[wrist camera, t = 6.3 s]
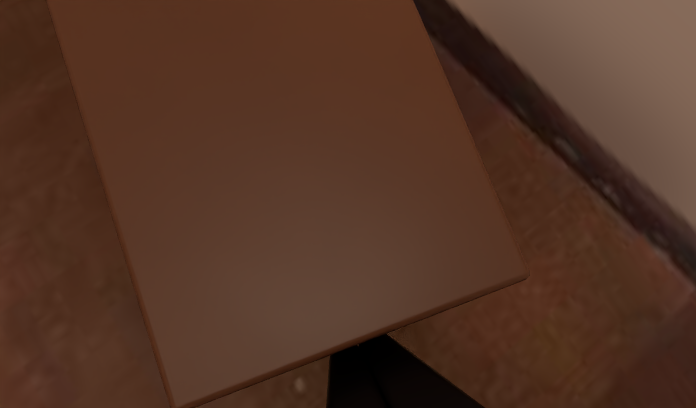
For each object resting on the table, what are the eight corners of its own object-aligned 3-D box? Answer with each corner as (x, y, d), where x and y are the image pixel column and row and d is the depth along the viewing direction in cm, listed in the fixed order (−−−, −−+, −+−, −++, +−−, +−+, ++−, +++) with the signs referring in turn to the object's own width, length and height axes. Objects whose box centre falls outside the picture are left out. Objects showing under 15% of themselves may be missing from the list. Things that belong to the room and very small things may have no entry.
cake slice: (425, 309, 16) (534, 276, 8) (240, 380, 16) (171, 416, 8) (319, 38, 18) (328, -203, 10) (145, 93, 17) (8, -119, 9)
